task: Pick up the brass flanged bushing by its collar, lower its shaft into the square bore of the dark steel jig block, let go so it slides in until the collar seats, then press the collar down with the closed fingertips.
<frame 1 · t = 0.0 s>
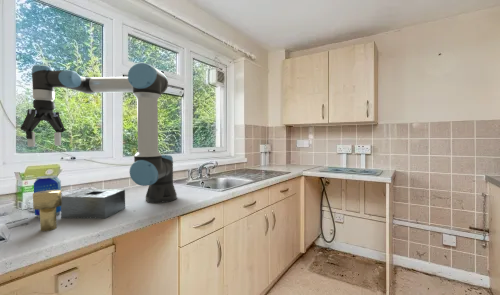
hand: (45, 146, 111), 28 cm above the countertop, tool pointing down, fingers open, 13 cm apart
bushing: (48, 228, 83), on the countertop
jig: (95, 212, 101), on the countertop
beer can: (48, 215, 98), on the countertop
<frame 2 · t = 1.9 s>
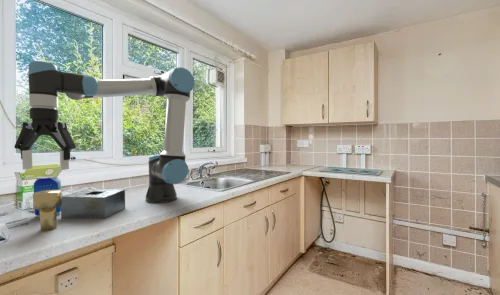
hand: (46, 169, 83), 21 cm above the countertop, tool pointing down, fingers open, 13 cm apart
nothing on the countertop moved.
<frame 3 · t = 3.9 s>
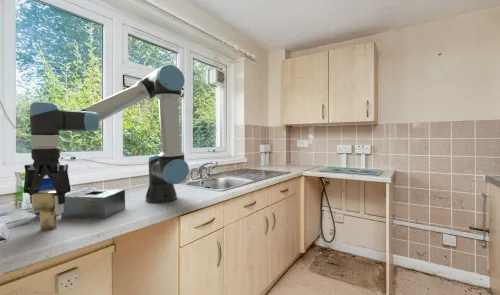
hand: (48, 212, 83), 6 cm above the countertop, tool pointing down, fingers closed on bushing, 8 cm apart
bushing: (48, 228, 83), on the countertop, touching gripper
everything else where it was.
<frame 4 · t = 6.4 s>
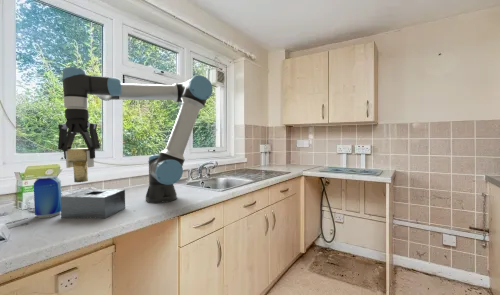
hand: (80, 167, 94), 20 cm above the countertop, tool pointing down, fingers closed on bushing, 8 cm apart
bushing: (81, 181, 94), point 15 cm above the countertop, touching gripper
everything else where it was.
when the fingers open (11 cm above the countertop, at t = 9.1 s): bushing drops 4 cm, resting on jig.
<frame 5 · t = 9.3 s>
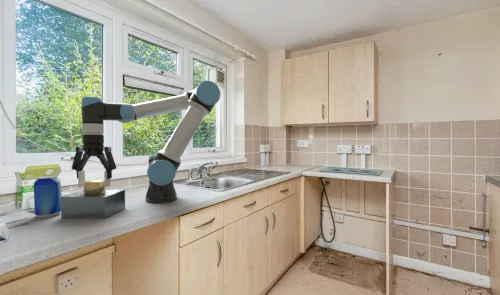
hand: (94, 186, 101), 11 cm above the countertop, tool pointing down, fingers open, 10 cm apart
bushing: (95, 211, 101), resting on jig
everything else where it was.
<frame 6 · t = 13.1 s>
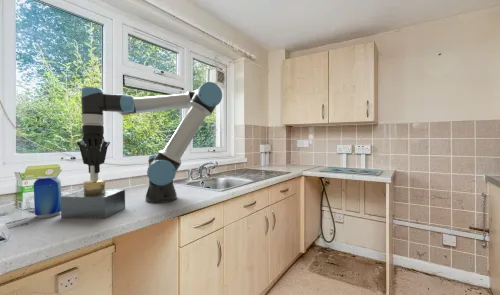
hand: (94, 180, 100), 14 cm above the countertop, tool pointing down, fingers closed
bushing: (95, 211, 101), resting on jig, touching gripper
everything else where it was.
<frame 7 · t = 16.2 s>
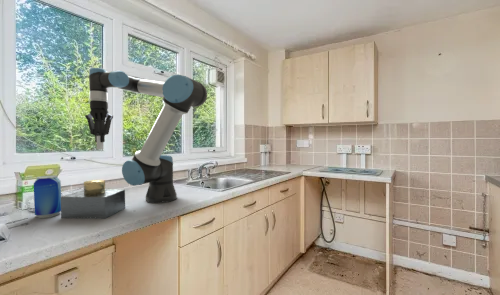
hand: (100, 148, 117), 26 cm above the countertop, tool pointing down, fingers closed
bushing: (95, 211, 101), resting on jig
everything else where it was.
at the end: bushing 0.0 cm off-centre on the jig, point 0.5 cm above the jig's base; bushing tilted 0°; the gripper is holding nothing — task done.
